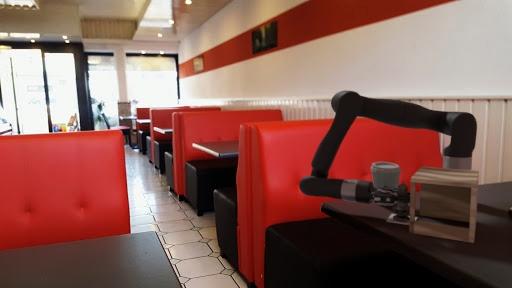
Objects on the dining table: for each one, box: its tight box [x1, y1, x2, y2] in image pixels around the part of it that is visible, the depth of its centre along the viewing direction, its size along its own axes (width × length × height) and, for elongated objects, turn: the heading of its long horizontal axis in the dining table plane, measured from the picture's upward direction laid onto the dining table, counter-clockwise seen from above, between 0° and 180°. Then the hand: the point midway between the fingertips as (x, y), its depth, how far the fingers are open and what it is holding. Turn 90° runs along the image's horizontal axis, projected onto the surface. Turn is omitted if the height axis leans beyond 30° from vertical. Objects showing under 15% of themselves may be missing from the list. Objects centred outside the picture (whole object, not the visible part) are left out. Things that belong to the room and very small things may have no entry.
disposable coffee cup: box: [370, 161, 402, 207], centre depth 136 cm, size 11×11×15 cm
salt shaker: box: [391, 181, 410, 221], centre depth 117 cm, size 6×6×12 cm
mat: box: [386, 213, 419, 226], centre depth 119 cm, size 8×8×1 cm
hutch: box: [408, 166, 480, 244], centre depth 111 cm, size 19×16×16 cm
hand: (411, 197), depth 116 cm, fingers closed on salt shaker, 3 cm apart
